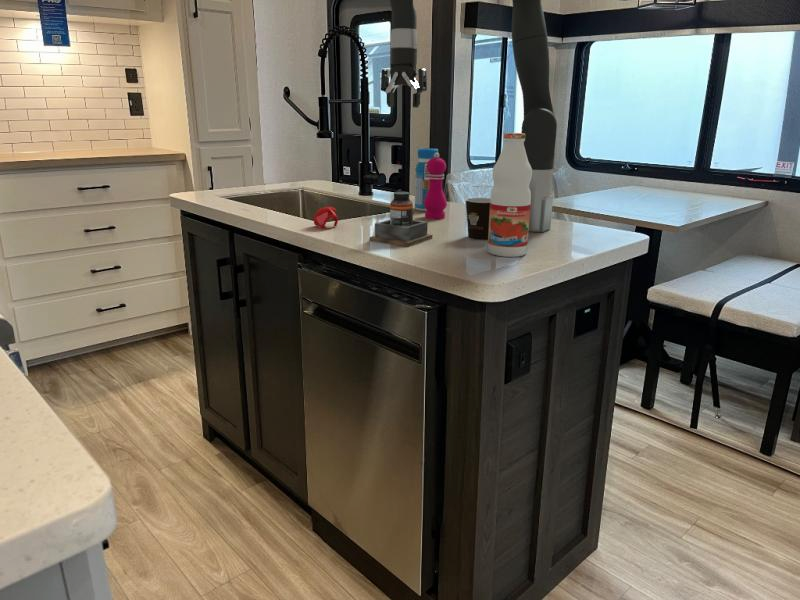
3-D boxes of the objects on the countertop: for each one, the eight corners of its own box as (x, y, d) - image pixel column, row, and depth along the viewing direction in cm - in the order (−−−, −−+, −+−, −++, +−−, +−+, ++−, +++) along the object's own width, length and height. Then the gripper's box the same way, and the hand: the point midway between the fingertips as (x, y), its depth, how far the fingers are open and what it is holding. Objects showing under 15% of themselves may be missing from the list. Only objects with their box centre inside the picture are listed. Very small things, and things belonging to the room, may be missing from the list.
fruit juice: (526, 249, 152) (535, 132, 144) (527, 258, 144) (536, 134, 135) (488, 247, 154) (494, 132, 145) (486, 256, 145) (493, 133, 136)
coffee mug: (458, 235, 168) (459, 198, 165) (485, 233, 171) (487, 197, 168) (480, 244, 158) (482, 205, 155) (508, 241, 161) (511, 203, 158)
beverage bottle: (409, 209, 208) (410, 148, 201) (422, 206, 214) (424, 147, 208) (430, 212, 203) (432, 150, 197) (443, 209, 210) (445, 148, 203)
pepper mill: (446, 219, 190) (449, 153, 184) (423, 219, 190) (425, 153, 184) (445, 215, 197) (447, 151, 191) (423, 215, 197) (424, 151, 191)
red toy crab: (346, 216, 176) (334, 203, 179) (333, 211, 171) (321, 198, 174) (329, 237, 179) (318, 224, 182) (316, 233, 174) (305, 220, 176)
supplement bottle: (401, 232, 166) (402, 190, 162) (417, 236, 162) (418, 192, 158) (385, 235, 162) (385, 192, 158) (401, 239, 158) (401, 194, 154)
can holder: (432, 238, 164) (432, 221, 162) (408, 246, 154) (409, 229, 153) (394, 233, 170) (394, 217, 168) (369, 240, 160) (369, 223, 159)
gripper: (375, 47, 174) (375, 107, 179) (418, 45, 167) (417, 107, 172) (390, 49, 180) (389, 107, 185) (432, 47, 173) (430, 107, 178)
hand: (403, 107), depth 179 cm, fingers open, 8 cm apart
